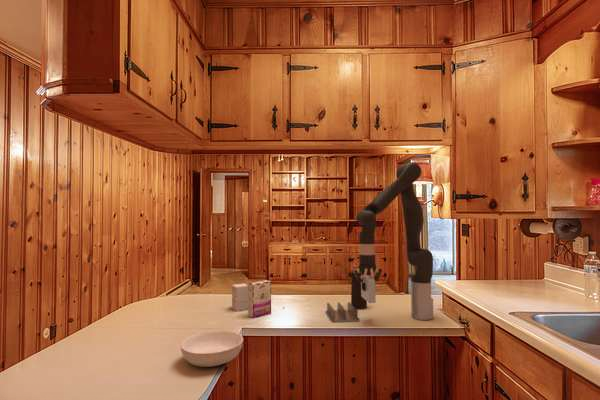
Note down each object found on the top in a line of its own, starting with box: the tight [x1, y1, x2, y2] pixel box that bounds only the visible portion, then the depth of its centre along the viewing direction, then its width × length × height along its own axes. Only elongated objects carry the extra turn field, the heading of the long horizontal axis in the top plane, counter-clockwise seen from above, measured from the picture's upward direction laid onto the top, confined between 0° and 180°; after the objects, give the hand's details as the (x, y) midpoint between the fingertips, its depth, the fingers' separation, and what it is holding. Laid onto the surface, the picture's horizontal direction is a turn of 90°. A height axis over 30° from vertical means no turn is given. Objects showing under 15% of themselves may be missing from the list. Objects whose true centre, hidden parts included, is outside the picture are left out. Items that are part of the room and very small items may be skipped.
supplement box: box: [231, 283, 248, 312], centre depth 182 cm, size 7×7×13 cm
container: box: [349, 269, 368, 310], centre depth 184 cm, size 9×9×20 cm
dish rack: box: [325, 301, 360, 323], centre depth 168 cm, size 13×16×5 cm
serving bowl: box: [180, 330, 244, 368], centre depth 119 cm, size 21×21×7 cm
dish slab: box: [361, 275, 377, 304], centre depth 159 cm, size 3×12×10 cm, turn 6°
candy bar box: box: [247, 279, 272, 319], centre depth 171 cm, size 11×5×16 cm, turn 132°
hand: (367, 290), depth 159 cm, fingers closed on dish slab, 3 cm apart
